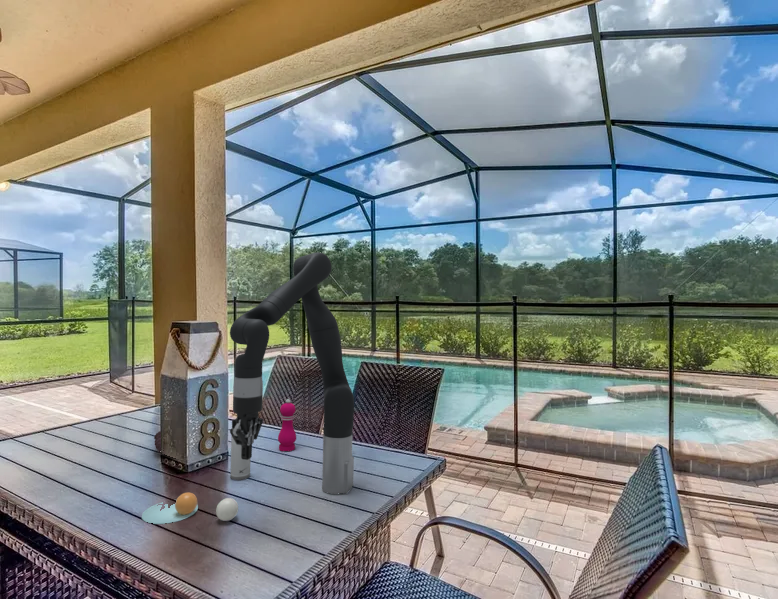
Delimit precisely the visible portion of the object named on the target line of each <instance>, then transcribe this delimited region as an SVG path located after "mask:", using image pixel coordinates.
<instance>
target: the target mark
mask: <svg viewBox="0 0 778 599" xmlns="http://www.w3.org/2000/svg"><path fill="white" fill-rule="evenodd" d="M163 502H164V501H162V502H158V503H156V504H154V505H151V506H149V507H147V509H145V510H144V511H143V512H142V513H141V520H142V521H143V522H145V523H147V522H148V524H151V523H153V525H166V524H165V523H167V524H173V523H177V522H180V521H182V520H185V519H187V518H189V517H192V516H193V515H194V514H196V512H197V511H198V508H199V505H198V504H197V506H196V508H195V510H194V511H193V512H191V513H190V514H187V515H182V514H179V513H178V512H177V511H176V509H175V504H173V505H171V506H170V508H168V504H165V505H164V506H165V508H164V509H162V510H161V511H160V509H161V507H162V505H158V504H163ZM157 505H158V506H157ZM172 522H173V523H172Z"/></svg>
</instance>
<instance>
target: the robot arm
mask: <svg viewBox="0 0 778 599" xmlns="http://www.w3.org/2000/svg"><path fill="white" fill-rule="evenodd" d="M292 272H293V276H294V277H292V278H291V279H288V281H286V282H285V283H283V284H282V285H280V286H278V287H277V288H275V289H274V290H273V291H272V292H270V293H269V295H267V296H266V297H265V298H264V299H263V300H262V301H261V302H260V303H259V304H258V305H257V306H255V307H253V308H251V309H250V310H248V311H246V312H245V313H243V314H242V315H240V316H239V317H237V318H236V319H235V320H234V321H233V323H232V325H231V327H230V330H229V336H230V339H231V340H232V341H233V342H234V343H235V344H238V345H242V346H243V345H246V347H245V351H244V353H241V354H238V355H237V356H236V358H235V360H234V361H235V362H234V381H233V388H232V389H233V390H232V392H233V393H232V411H233V413H235V414H236V418H237V419H236V418H235V419H236V426H235V428H234V429H232V428H230V429H229V430H230V431H229V434H230V435H231V436H232V437H233V439H234V441H235V443H236V444H237V445H241V447H242V448H241V458H242V459H244V460H248V459H250V458H252V456H253V444H254V442H255V440H257V439H258V438H259V437H258V436H259V433H260V431H261V428H262V425H263V422H264V419H263V418H260V416H259V415H260V414H259V413H260V412H262V410H263V400H264V398H263V397H264V396H263V394H264V383H263V382H264V381H263V361H264V357H265V354H266V351H267V347H268V344H269V339H270V329H269V326H273V325H275V324H277V323H278V322H279V321H280V320H281V319H282V318H283V316H285V315H286V313H288V311H290V310H291V308H292V307H294V305H295V304H296V303H297V302H298V301H300V300H301V302H302V305H303V310H304V314H305V317H306V322H307V327H308V334H309V336H310V342H311V345H312V349H313V352H314V355H315V358H316V360H317V363H318V365H319V368H320V371H321V377H322V386H323V409H324V410H323V429H322V430H323V434H322V436H323V437H322V473H321V476H322V477H321V478H322V479H321V483H322V484H321V488H322V489H323V490H322V489H321V490H322V491H323V492H324V491H325V492H324V493H326V492H328V493H327V494H329V493H332V494H331V495H339V494H338V493H343V494H345V493H349V492H350V491H351V490H352V489H353V487H354V477H355V476H354V473H355V472H354V471H355V470H354V469H355V468H354V467H355V466H354V465H355V457H354V456H353V432H354V431H353V428H354V414H355V397H354V394H353V391H352V388H351V387H350V384H349V382H348V378H347V375H346V372H345V369H344V368H345V367H344V362H343V348H342V340H341V334H340V329H339V326H338V322H337V319H336V317H335V315H334V314H333V313H332V312H331V310H330V308H328V307H327V305H326V304H325V303H324V301H323V299H322V297H321V295H320V292H319V289H318V285H319V284H320V283H322V282H323V281H325V280H326V279H328V278H329V276H330V275H331V272H332V262H331V260H330V258H329V256H327V254H325V253H322V252H318V251H317V252H312V253H309V254H306V255H303V256H300V257H298V258H296V259H295V260H294V262H293V266H292ZM250 460H251V459H250ZM352 486H353V487H352ZM350 489H351V490H350ZM349 490H350V491H349ZM348 491H349V492H348Z"/></svg>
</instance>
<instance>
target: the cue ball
mask: <svg viewBox="0 0 778 599" xmlns="http://www.w3.org/2000/svg"><path fill="white" fill-rule="evenodd" d="M215 510H216V512H215V513H216V517H217V518H218V519H219V520H220V521H223V522H229V521H231V520H233V519H234V518H235V517H236V516H237V515H238V511H239V504H238V502H237V500H235V499H234V498H233V497H232V498H231V497H226V498H224V499H222V500H221V501H219V502H218V504H217V506H216V509H215Z"/></svg>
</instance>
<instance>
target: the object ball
mask: <svg viewBox="0 0 778 599" xmlns="http://www.w3.org/2000/svg"><path fill="white" fill-rule="evenodd" d="M175 500H176V503H175V509H176V511H177V512H178V513H179V514H182V515H187V514H190V513H191V512H193V511H194V510H195V508H196V506H197V505H198V498H197V496H196V495H195V494H194V493H193V492H183V493H181V494H180V495H179V496H178V497H177V498H176V499H175Z"/></svg>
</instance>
